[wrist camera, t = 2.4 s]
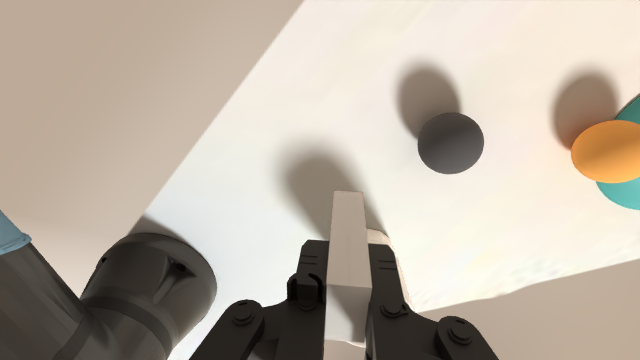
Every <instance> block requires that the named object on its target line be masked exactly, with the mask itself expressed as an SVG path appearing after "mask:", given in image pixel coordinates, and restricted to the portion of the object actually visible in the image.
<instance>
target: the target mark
mask: <svg viewBox="0 0 640 360" xmlns="http://www.w3.org/2000/svg"><path fill="white" fill-rule="evenodd" d="M615 120H624V121H630V122H634V123H637V124H639V125H640V97H638V98H637V99H636V100H635V101H633V102H632V103H631V104H630V105H628V106H627V107H626V108H625V109H624V110H623V111H622V112H621V113H620V114H619V115H618V116H617V118H616V119H615ZM596 183H597V185H598V187H599V189H600V190H601V191H602V193H603V194H604V195H605V196H606V197H607V198H609V199H610V200H611V201H613V202H615V203H616V204H618V205H621V206H623V207H626V208H630V209H636V210H640V177H638V178H635V179H633V180H630V181H626V182H621V183H604V182H598V181H596Z"/></svg>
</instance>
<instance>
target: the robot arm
mask: <svg viewBox="0 0 640 360" xmlns="http://www.w3.org/2000/svg"><path fill="white" fill-rule="evenodd" d="M31 240H32V239H31V237H30V236H29V235H27V234H25V233H22V232H21V231H20V230H19V229H18V228H17V227H16V226H15V225H14V224H13V223H12V222H11V221H10V220H9V219H8V218H7V217H6V216H5V215H4V213H3V212H1V210H0V360H167V359H168V357H169V355H170V353H171V351H172V350H173V348H174V347H175V346H176V345H177V344H178V343H179V342H180V341H181V340H182V339H183V338H184V337H185V336H186V335H187V334H188V333H189V332H190V331H191V330H192V329H193V328H194V327H195V326H196V325H197V324H198V323H199V322H200V321H201V320H202V319H203V318H204V317H205V316H206V314H207V313H208V311H209V309H210V307H211V305H212V303H213V301H214V299H215V296H216V292H217V283H216V279H215V276H214V273H213V271H212V269H211V268H210V266H209V265H208V263H207V262H206V261H205V260H204V259H203V257H201V256H200V255H199V254H198V253H197V252H196V251H195V250H193V249H192V248H190V247H189V246H187V245H186V244H184V243H182V242H180V241H178V240H176V239H173V238H170V237H167V236H164V235H159V234H153V233H139V234H133V235H129V236H126V237H124V238H122V239H120V240H119V241H118V242H116V243H115V244H114V245H113V246H112V247H111V248H110V249H109V250H108V251H107V252H106V253H105V254H104V255H103V256H102V257H101V259H100V260H99V262H98V264H97V266H96V269H95V271H94V273H93V274H92V276H91V277H90V279H89V281H88V283H87V285H86V287H85V289H84V291H83V293H82V295H81V297H80V298H78V297H77V296H76V295H75V294H74V293H73V291H72V290H71V289H70V288H69V287H68V286H67V285H66V283H65V282H64V281H63V280H62V278H61V277H60V276H59V275H58V274H57V273H56V271H55V270H54V269H53V268H52V267H51V266H50V264H49V263H48V262H47V261H46V260H45V259H44V257H43V256H42V255H41V254H40V253H39V252H38V250H37V249H36V248H35V247H34V246H33V245H32V243H31V242H30V241H31ZM324 339H328V340H339V341H349V342H360V343H364V342H365V340H366V352H365V359H364V360H499V359H498V358H497V356H496V355H495V353H494V352H493V351H492V349H491V348H490V346H489V345H488V343H487V342H486V341H485V339H484V338H483V337H482V335H481V333H480V332H479V331H478V330H477V329H476V328H475V327H474V325H472V324H471V323H469V322H468V321H466V320H465V319H462V318H459V317H456V316H447V317H444V318H441V320H440V321H439V322H435V321H433V320H430V319H427V318H424V317H422V316H420V315H418V314H417V313H415V312H414V311H413V310H412V309H411V308H410V306H409V305H408V304H407V303H406V302H405V299H404V295H403V291H402V286H401V281H400V277H399V272H398V268H397V263H396V258H395V254H394V252H393V250H392V249H391V248H390V247H389V245H387V244H373V243H368V241H367V231H366V221H365V210H364V200H363V192H351V191H335V190H334V197H333V209H332V221H331V233H330V241H321V240H307V241H306V242H305V244H304V245H303V246H302V248H301V253H300V258H299V263H298V267H297V272H296V273H295V274H293V275H292V276H291V277H290V278H289V280H288V282H287V299H286V300H285V301H283V302H281V303H279V304H276V305H273V306H268V307H263V308H262V306H261V305H260V303H258V302H256V301H254V300H247V299H246V300H241V301H237V302H235V303H233V304H231V305H230V306H229V307H228V308H227V309H226V310H225V312H224V313H223V314H222V316H221V317H220V318H219V320H218V321H217V322H216V324H215V325H214V326H213V328H212V329H211V330H210V332H209V333H208V334H207V336H206V337H205V338H204V340H203V341H202V343H201V344H200V345H199V347H198V348H197V349H196V351H195V352H194V353H193V355H192V356H191V357H190V359H189V360H323V355H324Z"/></svg>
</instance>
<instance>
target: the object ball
mask: <svg viewBox="0 0 640 360" xmlns="http://www.w3.org/2000/svg"><path fill="white" fill-rule="evenodd" d="M571 158H572V162H573V164H574V166H575V167H576V169H577V170H578V171H579V172H580V173H581V174H583V175H584V176H586V177H588V178H590V179H592V180H595V181H598V182H604V183H621V182H626V181H630V180H633V179H635V178H638V177H640V125H639V124H637V123H634V122H630V121H624V120H612V121H605V122H601V123H598V124H595V125H593V126H591V127H589V128H587V129H586V130H584V131H583V132H582V133H581V134H580V135H579V136H578V137H577V138H576V140H575V141H574V143H573V146H572V150H571Z"/></svg>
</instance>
